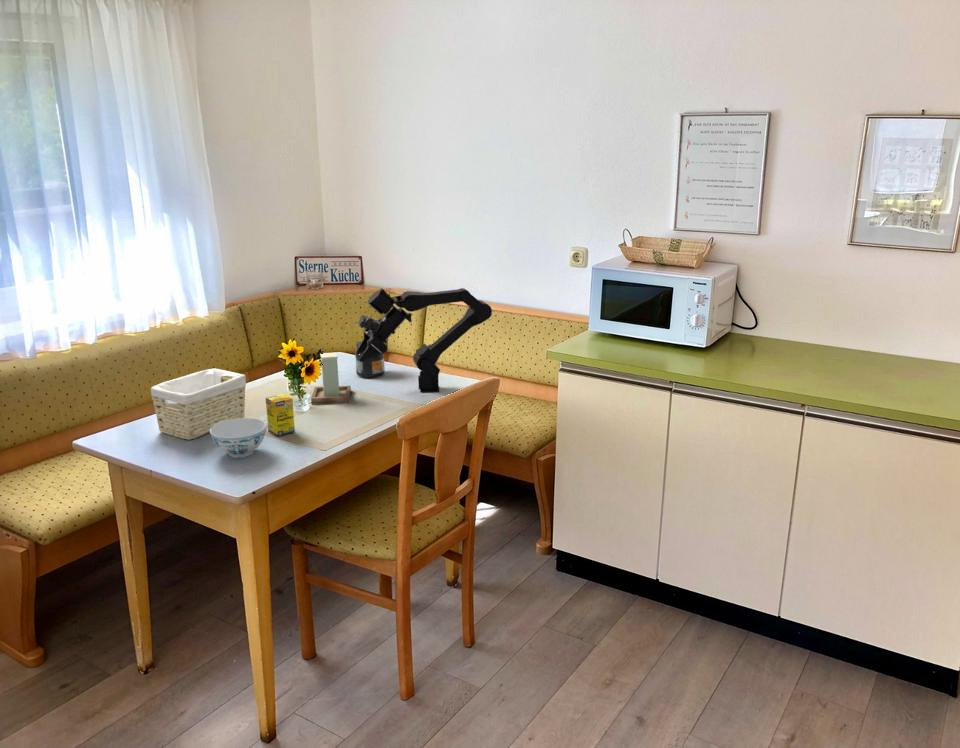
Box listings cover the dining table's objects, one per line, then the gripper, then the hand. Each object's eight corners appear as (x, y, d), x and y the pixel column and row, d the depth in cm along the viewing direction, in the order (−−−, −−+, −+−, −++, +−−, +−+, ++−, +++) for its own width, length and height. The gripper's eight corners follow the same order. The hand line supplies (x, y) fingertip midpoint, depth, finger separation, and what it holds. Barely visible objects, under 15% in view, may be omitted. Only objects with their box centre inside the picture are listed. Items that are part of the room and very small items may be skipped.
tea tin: (338, 392, 268) (336, 352, 264) (339, 397, 263) (337, 356, 259) (323, 393, 267) (320, 353, 263) (324, 398, 262) (321, 357, 258)
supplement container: (391, 374, 289) (389, 343, 285) (367, 381, 282) (365, 348, 278) (374, 368, 296) (372, 337, 293) (350, 374, 289) (348, 343, 286)
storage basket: (216, 409, 255) (211, 365, 251) (252, 418, 247) (248, 373, 243) (153, 433, 236) (146, 386, 231) (190, 444, 228) (184, 396, 223)
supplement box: (277, 437, 232) (274, 402, 229) (268, 431, 236) (264, 397, 233) (295, 432, 236) (292, 397, 232) (286, 426, 240) (283, 392, 237)
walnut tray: (350, 391, 272) (350, 385, 271) (348, 402, 260) (348, 397, 260) (315, 392, 271) (315, 386, 270) (311, 404, 259) (311, 398, 259)
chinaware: (278, 445, 226) (275, 420, 224) (252, 466, 212) (249, 439, 210) (230, 440, 230) (228, 416, 227) (202, 461, 216) (199, 435, 213)
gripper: (368, 301, 268) (337, 334, 268) (375, 313, 250) (342, 349, 251) (393, 322, 272) (362, 355, 273) (401, 335, 255) (368, 371, 255)
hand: (358, 357), depth 263 cm, fingers open, 9 cm apart
